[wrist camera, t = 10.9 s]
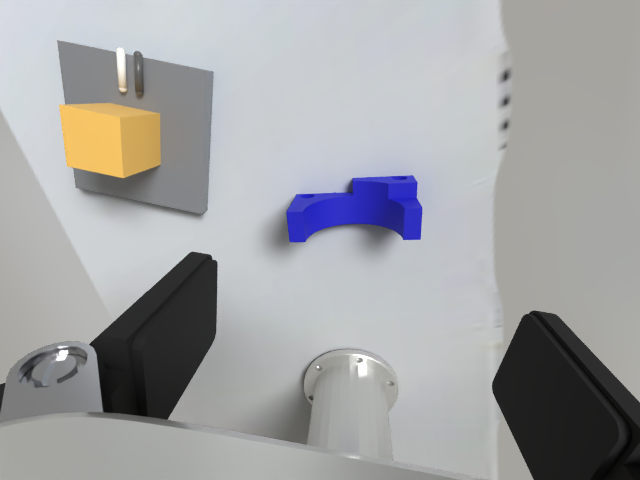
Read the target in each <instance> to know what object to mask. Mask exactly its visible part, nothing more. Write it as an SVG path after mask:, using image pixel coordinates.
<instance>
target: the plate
mask: <svg viewBox="0 0 640 480" xmlns="http://www.w3.org/2000/svg"><path fill="white" fill-rule="evenodd" d="M57 42H58V50H59V58H60V66H61V74H62V82H63V89H64V97H65V105H67V104H96V103H112V104H117V105H122V106H126V107H131V108H136V109H141V110H145V111H150V112H155V113H160V150H161V165H159V166H156V167H153V168H150V169H148V170H145V171H142V172H139V173H136V174H134V175H131V176H128V177H125V178H120V177H115V176H111V175H106V174H101V173H97V172H92V171H87V170H82V169H78V168H73V169H74V177H75V185H76V188H80V189H84V190H89V191H94V192H99V193H104V194H108V195H113V196H118V197H123V198H127V199H132V200H137V201H142V202H147V203H151V204H156V205H161V206H166V207H170V208H175V209H180V210H185V211H190V212H194V213H199V214H202V213H204V212H205V211H206V210H207V203H208V181H209V159H210V136H211V114H212V91H213V72H212V71H207V70H202V69H197V68H192V67H187V66H183V65H178V64H173V63H168V62H163V61H158V60H153V59H148V58H143V57H142V54H141V53H140V52H139V51H135V52H134V56H133V55H128V54H125V51H124V49H122V48H117V49H116V52H113V51H108V50H103V49H98V48H94V47H89V46H84V45H79V44H74V43H69V42H63V41H58V40H57Z"/></svg>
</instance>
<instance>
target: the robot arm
mask: <svg viewBox="0 0 640 480" xmlns="http://www.w3.org/2000/svg"><path fill="white" fill-rule="evenodd" d="M216 314H217V261H216V260H212V256H211V255H209V254H203V253H197V252H191V253H189V254H188V255H187V256H186V257H185V258H184V259H183V260H182V261H181V262H179V263H178V264H177V265H176V266H175V267H174V268H173V269H172V270H171V271H170V272H168V273H167V274H166V275H165V276H164V277H163V278H162V279H161V280H160V281H159V282H157V283H156V284H155V285H154V286H153V287H152V288H151V289H150V290H149V291H147V292H146V293H145V294H144V295H143V296H142V297H141V298H139V299H138V300H137V301H136V302H135V303H134V304H133V305H132V306H131V307H130V308H128V309H127V310H126V311H125V312H124V313H123V314H122V315H121V316H120V317H119V318H117V319H116V320H115V321H114V322H113V323H112V324H111V325H110V326H109V327H108V328H107V329H105V330H104V331H103V332H102V333H101V334H100V335H99V336H98V337H97V338H95V339H94V340H93V341H92V342H91V343H90V344H86V343H82V342H78V341H66V342H60V343H54V344H51V345H48V346H44V347H42V348H39V349H37V350H35V351H33V352H31V353H29V354H27V355H26V356H25V357H23V358H22V359H20V360H19V361H18V362H17V363H16V364H15V365H14V366H13V367H12V368H11V369H10V371H9V373H8V376H7V378H6V383H3V384H0V480H489V479H484V478H479V477H474V476H469V475H464V474H458V473H453V472H448V471H443V470H438V469H432V468H427V467H422V466H417V465H412V464H406V463H401V462H396V461H393V451H392V442H391V432H390V423H389V413H388V412H389V411H390V409H391V408H392V407H393V406H394V404H395V402H396V400H397V396H398V384H397V379H396V376H395V374H394V372H393V370H392V369H391V368H390V366H389V365H388V364H387V363H385V362H384V361H383V360H382V359H380V358H379V357H377V356H375V355H373V354H370V353H368V352H364V351H360V350H353V349H342V350H336V351H331V352H329V353H326V354H323V355H322V356H320V357H319V358H317V359H316V360H315V361H314V362H313V363H311V365H310V366H309V368H308V369H307V372H306V374H305V379H304V392H305V396H306V398H307V400H308V402H309V403H310V404H311V406H312V411H311V418H310V426H309V433H308V440H307V445H306V444H300V443H295V442H290V441H284V440H279V439H273V438H268V437H263V436H257V435H252V434H246V433H241V432H236V431H230V430H225V429H219V428H213V427H207V426H201V425H195V424H189V423H183V422H177V421H171V420H167V419H168V418H169V416H170V414H171V413H172V411H173V409H174V408H175V406H176V404H177V402H178V401H179V399H180V397H181V396H182V394H183V392H184V391H185V389H186V387H187V386H188V384H189V382H190V381H191V379H192V377H193V375H194V374H195V372H196V370H197V369H198V367H199V365H200V364H201V362H202V360H203V359H204V357H205V355H206V354H207V352H208V350H209V348H210V347H211V345H212V343H213V341H214V339H215V335H216ZM492 390H493V394H494V396H495V398H496V401H497V403H498V405H499V407H500V409H501V411H502V413H503V415H504V417H505V420H506V421H507V424H508V426H509V428H510V430H511V432H512V434H513V436H514V439H515V440H516V443H517V445H518V447H519V449H520V451H521V453H522V456H523V458H524V459H525V462H526V464H527V466H528V468H529V470H530V473H531V474H532V477H533V479H534V480H640V402H639V401H638V400H637V399H636V398H635V397H634V396H633V395H632V394H631V393H630V392H629V391H628V390H627V389H626V387H624V385H623V384H622V383H621V382H620V381H619V380H618V379H617V378H616V377H615V376H614V375H613V374H612V373H611V372H610V371H609V370H608V368H607V367H606V366H605V365H604V364H603V363H602V362H601V361H600V360H599V359H598V358H597V357H596V356H595V355H594V354H593V353H592V352H591V350H590V349H589V348H588V347H587V346H586V345H585V344H584V343H583V342H582V341H581V340H580V339H579V338H578V337H577V336H576V335H575V334H574V332H572V330H571V329H570V328H569V327H568V326H567V325H566V324H565V323H564V322H563V321H562V320H561V319H560V318H559V317H558V316H557V315H555V314H552V313H546V312H540V311H531V312H530V313H529V314H526V315H524V316H523V317H522V319H521V321H520V323H519V326H518V328H517V330H516V332H515V334H514V337H513V339H512V341H511V343H510V345H509V347H508V350H507V352H506V354H505V356H504V358H503V360H502V363H501V365H500V367H499V369H498V371H497V373H496V376H495V378H494V380H493V383H492Z"/></svg>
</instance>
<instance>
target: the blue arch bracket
mask: <svg viewBox="0 0 640 480" xmlns="http://www.w3.org/2000/svg"><path fill="white" fill-rule="evenodd" d="M286 213H287V222H288V231H289V240H290V242H306V240H307V238H308V237H309V236H310V235H312V234H313V233H315V232H317V231H319V230H321V229H324V228H327V227H331V226H336V225H342V224H372V225H378V226H382V227H386V228H389V229H391V230H394V231H395V232H397V233H398V234H400V235H401V236H402V238H403V240H420V239H421V222H422V206H421V205H420V203H419V201H418V200H417V181H416V180H415V178H414V177H413V176H390V177H367V178H353V192H348V193H321V194H297V195H296V197H295V198H294V200H293V202H292V203H291V205H290V207H289V208H288V210H287V212H286Z"/></svg>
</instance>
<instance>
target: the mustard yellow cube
mask: <svg viewBox="0 0 640 480" xmlns="http://www.w3.org/2000/svg"><path fill="white" fill-rule="evenodd" d="M59 107H60V115H61V123H62V131H63V138H64V146H65V154H66V161H67V166H68V167H73V168H78V169H82V170H87V171H92V172H97V173H101V174H106V175H111V176H115V177H120V178H125V177H128V176H131V175H134V174H136V173H139V172H142V171H145V170H148V169H150V168H153V167H156V166H159V165H161V150H160V113H155V112H150V111H145V110H141V109H136V108H131V107H126V106H122V105H117V104H112V103H96V104H67V105H59Z"/></svg>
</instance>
